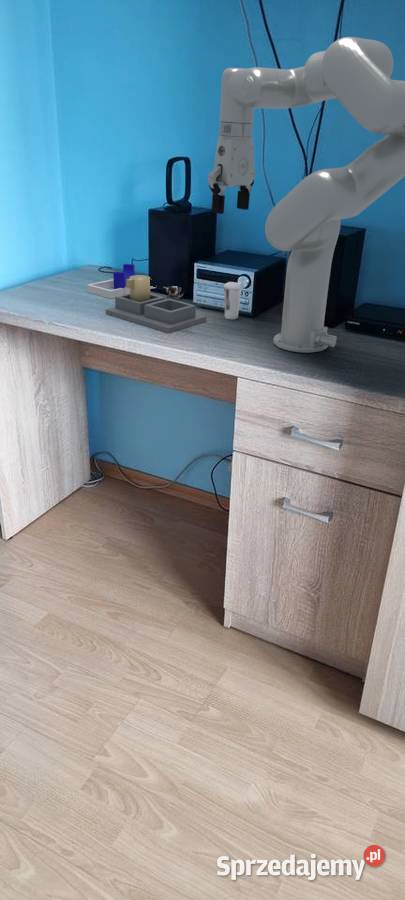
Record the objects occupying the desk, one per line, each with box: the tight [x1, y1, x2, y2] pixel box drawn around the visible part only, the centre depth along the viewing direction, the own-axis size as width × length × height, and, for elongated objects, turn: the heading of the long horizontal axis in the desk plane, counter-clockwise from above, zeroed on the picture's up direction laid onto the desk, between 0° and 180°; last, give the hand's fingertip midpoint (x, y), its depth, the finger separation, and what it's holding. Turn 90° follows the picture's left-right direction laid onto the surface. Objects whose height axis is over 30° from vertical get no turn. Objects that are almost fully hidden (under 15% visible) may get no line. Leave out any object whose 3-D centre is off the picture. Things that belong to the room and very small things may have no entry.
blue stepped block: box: [113, 263, 136, 290], centre depth 191 cm, size 12×4×6 cm, turn 171°
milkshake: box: [223, 280, 245, 321], centre depth 168 cm, size 4×5×10 cm
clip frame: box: [86, 278, 157, 299], centre depth 192 cm, size 10×18×2 cm, turn 140°
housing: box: [105, 274, 207, 334], centre depth 167 cm, size 22×14×9 cm, turn 50°
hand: (230, 210), depth 157 cm, fingers open, 9 cm apart
